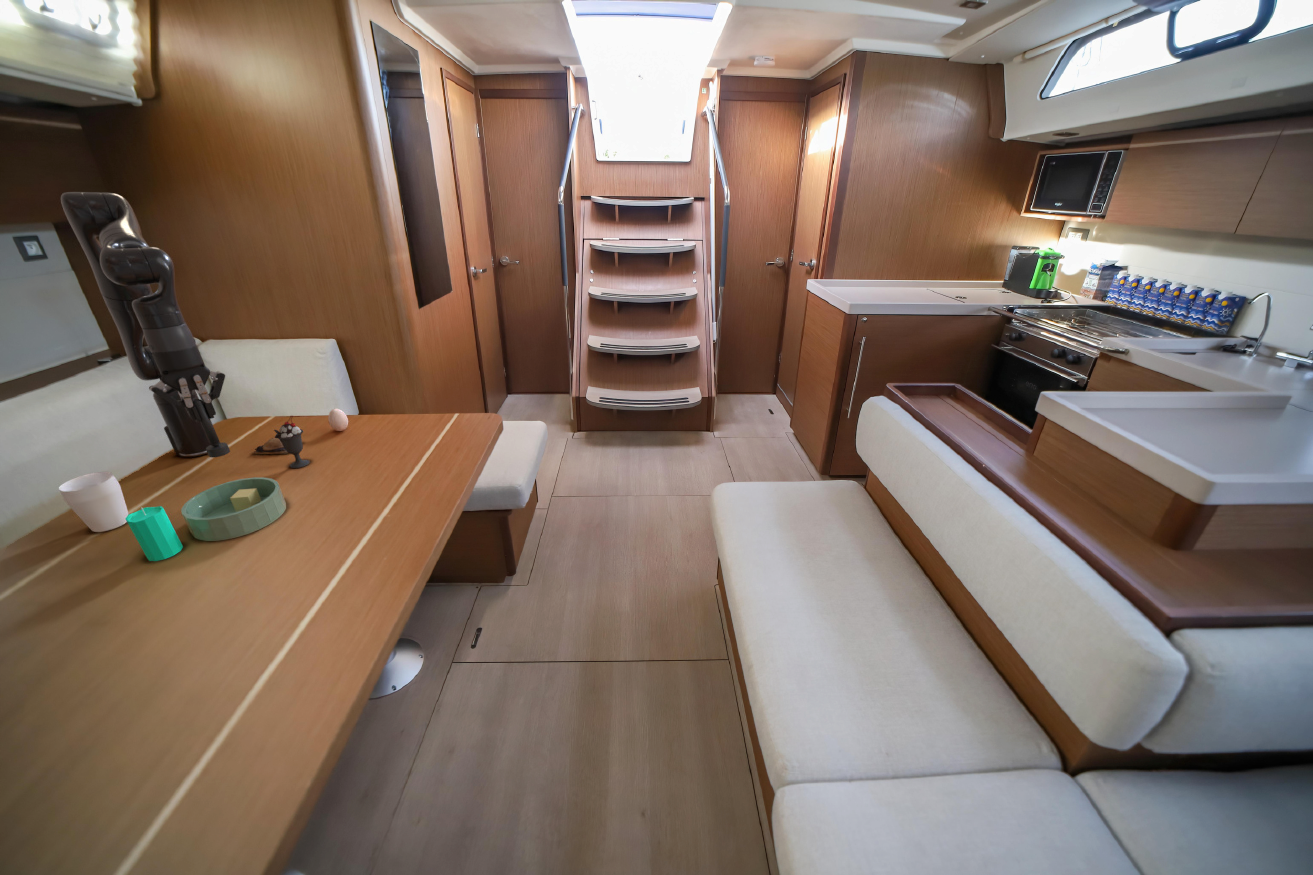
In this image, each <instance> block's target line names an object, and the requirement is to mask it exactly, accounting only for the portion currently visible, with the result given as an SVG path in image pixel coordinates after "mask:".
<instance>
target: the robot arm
mask: <svg viewBox="0 0 1313 875" xmlns="http://www.w3.org/2000/svg"><path fill="white" fill-rule="evenodd" d="M60 203H61V207H62V209H63V212H64V215H65V217H66V219H67V221H68V223H69V225H70V227H71V229H72V231H73V234H74V235H75V236H76V238H77V241H78V242H79V245H80V246H81V249H82V250H83V252H84V254H85V256H86V258H87V260H88V263H89V265H90V267H91V270H92V272H93V276H94V278H95V281H96V284H97V286H98V288H99V292H100V294H101V296H102V298H103V300H104V303H105V306H106V307H107V309H108V312H109V314H110V316H111V317H112V320H113V322H114V324H115V326H116V328H117V331H118V334H119V336H120V339H121V342H122V345H123V348H124V351H125V354H126V357H127V359H128V362H129V365H130V368H131V369H132V371H133V373H134V375H135V376H136V377H137V378H138V379H139V380H141V381H144V382H145V381H146V382H147V381H155V380H159V381H157V383H155V384H153V385H149V386H148V389H149V391H151V392H152V393H153V394H152V397H153V401H154V402H155V404H156V407H157V408H158V410H159V412H160V414H161V417H162V419H163V421H164V423H165V425H166V426H164V427H163V430H164V432H165V434H166V436H167V438H168V440H169V443H170V445H171V447H172V449H173V451H174V453H175V456H176V457H181V458H196V457H201V456H205V455H208V453H207V451H206V447H208V446H210V442H209V440H208V438H207V436H206V433H205V431H204V429H203V426H202V424H201V422H200V421H201V418H200V416H199V414H198V412H197V409H196V407H195V406H193V403H192V402H193V400H194V399H201V400H202V401H203V403H204V406H205V408H206V411H207V413H208V415H209V418H210V420H211V419H214V418H215V416H216V415H217V412H216V409H215V407H214V405H213V400H216V399H218V398H220V396H221V393H222V389H223V385H224V382H225V379H226V374H225V373H223V372H221V371H212V370H210V368H208V367H207V366H206V364H205V363H204V359H203V358H202V355H201V352H200V350H199V348H198V344H197V343H196V339H195V337H194V336H193V333H192V331H191V329H190V327H189V326H188V325H187V322H186V320H185V318H184V315H183V313H182V310H181V307H180V305H179V302H178V298H177V292H176V291H177V290H176V272H175V265H174V261H173V260H172V259H173V258H172V257H171V256H170V255H169V254H168V253H167V252H165V251H164V250H163V249H161V248H159V247H155V246H150V245H149V243H147V241H146V240H145V238H144V236H143V234H142V228H141V226H140V223H139V220H138V218H137V215H136V213H135V211H134V209H133V207H132V205H131V204H130V202H129V201H128V199H126V198H125V197H123V196H122V195H120V194H118V193H113V192H99V191H97V192H94V191H93V192H92V191H91V192H90V191H68V192H67V191H66V192H63V193H62V194H61V195H60ZM97 237H98V238H97ZM156 284H157V289H156V290H155V292H153V289H152V287H151V285H156ZM144 339H145V342H146V344H147V346H143V342H144ZM209 378H210V380H211V381H212V382H211V386H210V390H209V392H208V390H207V388H206V384H207V382H208V380H209Z"/></svg>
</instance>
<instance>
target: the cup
mask: <svg viewBox="0 0 1313 875" xmlns="http://www.w3.org/2000/svg"><path fill="white" fill-rule="evenodd" d="M58 490H59V492H60V494H61V496H62V498H63V501H64V502H65V503H66V504H67V505H68V507H69V508H70V509H71V510H72V511H73V512H74V513H75V515H77V517H79V519H80V520H81V521H82V522H83V523H84V524H85V525H86V526H87V527H88V528H89V529H90V530H91V532H95V533H102V532H103V533H104V532H107V531H111V530H114V529H117V528H119V527H121V526H123V525H125V524H127V521H126V517H127V516H128V514H130V513H129V510H128V507H127V503H126V501H125V496H124V494H123V490H122V487H121V484H120V483H119V481H118V480H117V478H116V477H115V475H114V474H113V473H112V472H110V471H97V472H92V473H87V474H84V475H80V476H77V477H74V478H72V479H69V480H67V481H65V482H64V483H62V484H61V485H60V486H59V487H58Z"/></svg>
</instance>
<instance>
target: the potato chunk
mask: <svg viewBox="0 0 1313 875" xmlns="http://www.w3.org/2000/svg"><path fill="white" fill-rule="evenodd" d="M230 499H231V502H232V504H233V506H234V509H235V511H241V510H244V509H247V508H250V507H252V506H254V505H256V504H258V503H260V502H261V498H260V496H259V493H258V491H257V488H254V489H241V490H238V491H237V492H236V493H235V494H234V495H233V496H232V497H231V498H230Z"/></svg>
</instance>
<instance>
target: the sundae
mask: <svg viewBox="0 0 1313 875" xmlns="http://www.w3.org/2000/svg"><path fill="white" fill-rule="evenodd" d="M293 417H294V415H290V416H289V419H288V420H286V421H285V422H284V423H283V424H282V425H280V427H279V430H278V429H273V432H275V433H276V434H275V435H274V438H277V439H279V440H280V441H281V443H282V444H283V446H284V448H285V450H286V451H287V452H288V453H287V454H290V455H293V456H294V459H295V461H293V462H292V463H290V465H289V467H290V469H300V468H304V467H306V466H308V465H309V464H310V460H309V459H302V457H301V455H300V453H301V452H302V451H303V449H304V445H303V444H304V443H303V438H302V434H303V433H304V430H303V429H302V428H300V427H299V426H296V423H294V422H293ZM289 421H290V422H291V423H290V422H289Z"/></svg>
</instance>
